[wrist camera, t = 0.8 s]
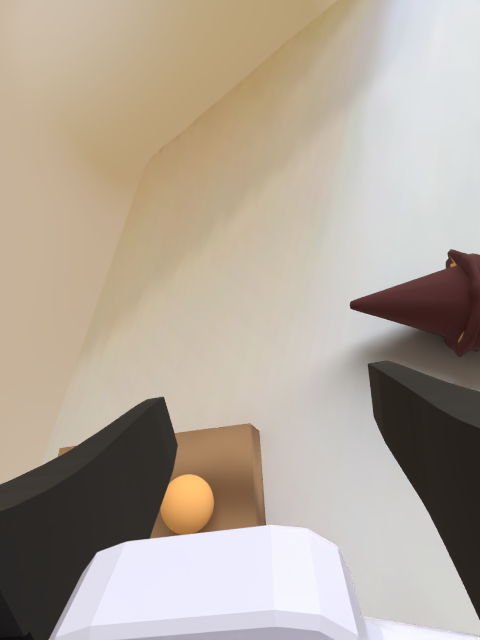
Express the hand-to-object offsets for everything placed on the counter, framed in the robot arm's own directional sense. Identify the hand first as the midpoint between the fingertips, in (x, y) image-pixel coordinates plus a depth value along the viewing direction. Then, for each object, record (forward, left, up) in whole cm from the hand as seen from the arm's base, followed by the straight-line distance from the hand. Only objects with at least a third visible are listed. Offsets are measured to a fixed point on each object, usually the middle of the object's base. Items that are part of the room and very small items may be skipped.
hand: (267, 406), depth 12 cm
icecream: (+9, -12, -16) cm, 22 cm away
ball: (-2, +8, -11) cm, 14 cm away
